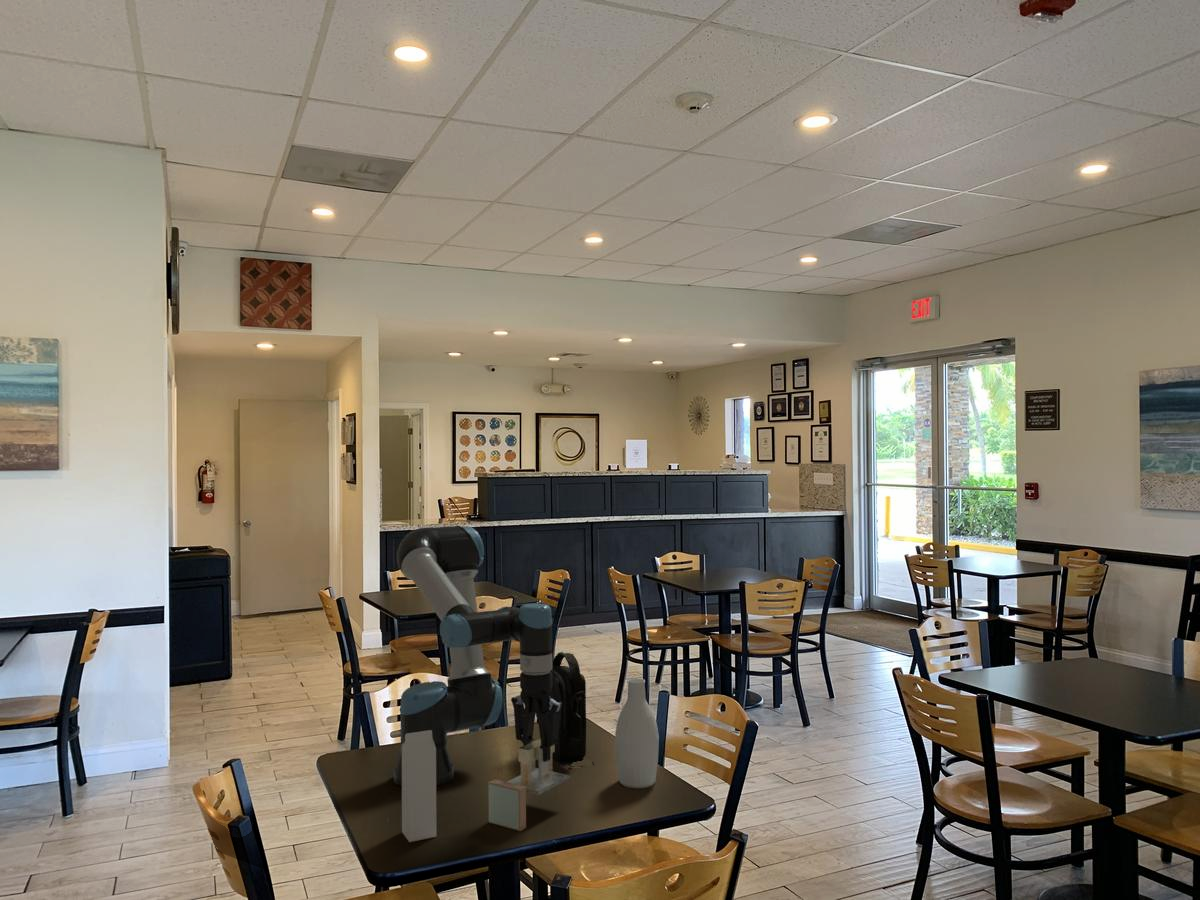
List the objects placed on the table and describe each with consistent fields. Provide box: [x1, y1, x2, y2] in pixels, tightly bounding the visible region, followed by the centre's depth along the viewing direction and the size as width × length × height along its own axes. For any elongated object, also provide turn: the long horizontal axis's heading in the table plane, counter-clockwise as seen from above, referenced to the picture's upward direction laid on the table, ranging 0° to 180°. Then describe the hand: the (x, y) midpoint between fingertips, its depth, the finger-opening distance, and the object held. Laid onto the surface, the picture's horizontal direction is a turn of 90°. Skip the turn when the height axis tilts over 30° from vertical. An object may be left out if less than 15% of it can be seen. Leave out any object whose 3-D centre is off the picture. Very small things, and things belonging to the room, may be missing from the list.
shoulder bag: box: [536, 651, 587, 771], centre depth 241 cm, size 23×9×28 cm, turn 25°
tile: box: [487, 778, 527, 832], centre depth 193 cm, size 9×2×9 cm, turn 57°
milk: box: [401, 730, 437, 843], centre depth 189 cm, size 6×6×22 cm
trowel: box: [506, 738, 571, 796], centre depth 202 cm, size 12×10×9 cm
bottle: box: [614, 677, 660, 789], centre depth 219 cm, size 11×11×25 cm
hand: (537, 773), depth 202 cm, fingers closed on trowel, 3 cm apart
